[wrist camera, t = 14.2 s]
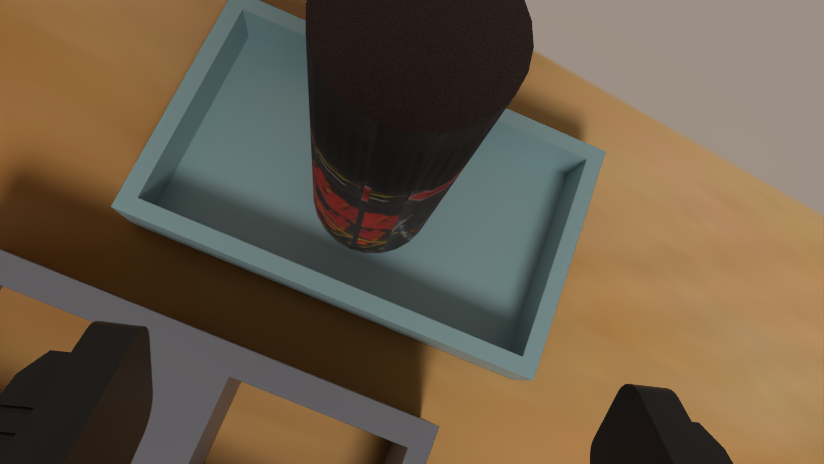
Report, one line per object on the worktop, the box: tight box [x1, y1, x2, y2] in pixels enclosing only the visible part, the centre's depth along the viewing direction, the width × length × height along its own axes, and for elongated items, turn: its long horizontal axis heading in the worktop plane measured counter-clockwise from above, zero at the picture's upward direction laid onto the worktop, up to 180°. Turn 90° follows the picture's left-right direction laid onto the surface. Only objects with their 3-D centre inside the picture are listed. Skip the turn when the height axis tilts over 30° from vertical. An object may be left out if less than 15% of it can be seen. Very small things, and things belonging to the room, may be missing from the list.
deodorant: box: [305, 0, 534, 253], centre depth 22 cm, size 6×6×15 cm
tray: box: [111, 0, 605, 381], centre depth 28 cm, size 20×12×3 cm, turn 69°
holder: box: [0, 248, 439, 464], centre depth 24 cm, size 21×10×4 cm, turn 69°
